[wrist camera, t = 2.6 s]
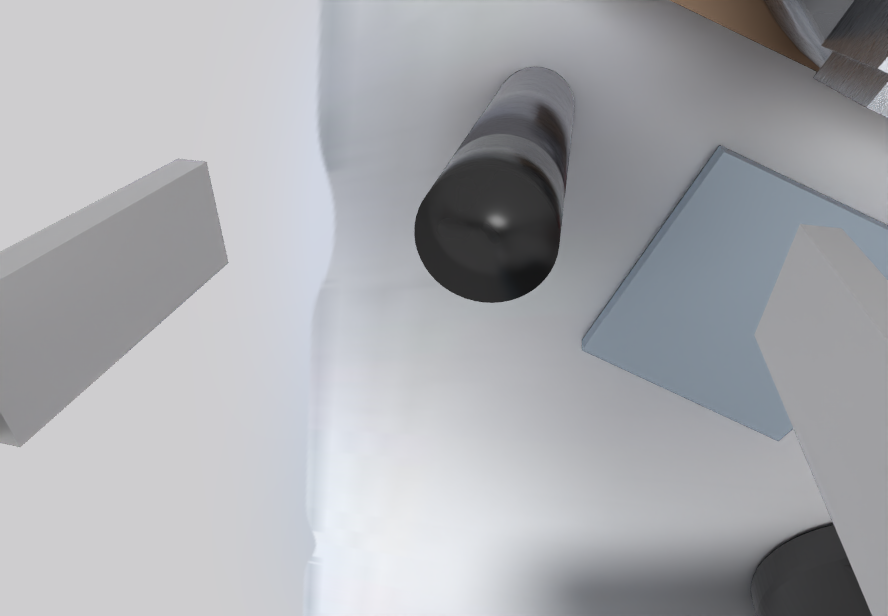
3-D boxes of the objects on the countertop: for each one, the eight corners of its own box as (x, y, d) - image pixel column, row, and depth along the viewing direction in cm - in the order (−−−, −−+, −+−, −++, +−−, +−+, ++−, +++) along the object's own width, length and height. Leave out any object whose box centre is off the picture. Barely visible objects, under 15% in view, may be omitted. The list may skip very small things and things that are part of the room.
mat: (773, 428, 31) (778, 441, 31) (582, 339, 31) (581, 350, 30) (962, 261, 25) (974, 271, 24) (719, 145, 24) (724, 151, 23)
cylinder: (550, 161, 26) (519, 323, 15) (482, 129, 26) (395, 266, 15) (589, 88, 24) (587, 209, 13) (515, 52, 24) (445, 142, 13)
